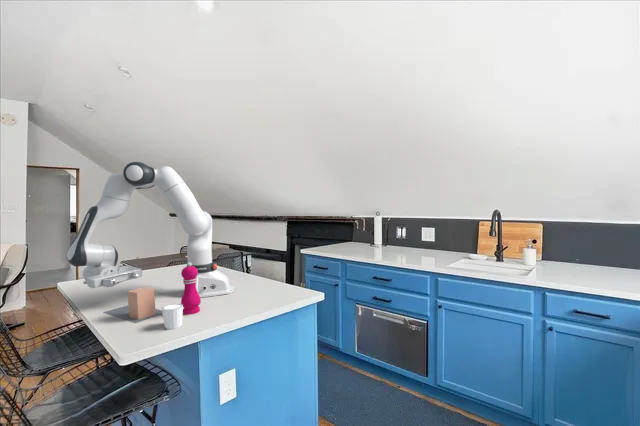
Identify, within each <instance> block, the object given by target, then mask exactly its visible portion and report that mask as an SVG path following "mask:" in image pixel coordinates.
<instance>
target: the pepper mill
mask: <svg viewBox="0 0 640 426" xmlns="http://www.w3.org/2000/svg"><path fill="white" fill-rule="evenodd" d="M191 265H192V264H191V263H190V262H188V261H187V263H186V266H185V267H183V268H182V269H181V273H180V274H181V277H182V278H183V279H182V283H183V284H184V291H183V294H182V296H181V299H180V304H182V305H183V315H186V316H189V315H195V314H198V313H200V310H201V307H200V304H201V302H202V300H201V298H200V296H199V294H198V292H197V289H196V282H197V280H196V279H197V278H196V276H197V275H198V271H197V269H196V268H195V267H193V266H191Z"/></svg>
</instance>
